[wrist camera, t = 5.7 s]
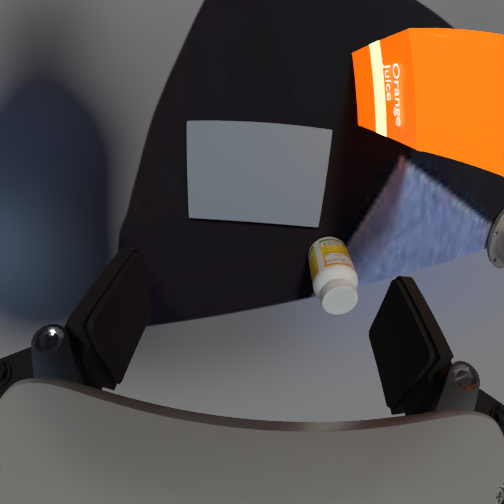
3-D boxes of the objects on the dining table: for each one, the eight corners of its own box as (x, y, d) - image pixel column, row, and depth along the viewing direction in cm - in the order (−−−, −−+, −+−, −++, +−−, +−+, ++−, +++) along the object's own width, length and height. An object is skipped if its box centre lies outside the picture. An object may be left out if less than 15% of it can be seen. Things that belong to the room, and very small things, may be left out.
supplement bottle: (331, 227, 35) (348, 272, 26) (353, 254, 36) (373, 301, 28) (299, 252, 37) (305, 300, 29) (322, 276, 39) (333, 326, 30)
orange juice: (411, 59, 22) (539, 54, 5) (415, 128, 27) (538, 184, 10) (350, 52, 23) (453, 10, 6) (356, 125, 28) (461, 177, 11)
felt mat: (331, 129, 28) (332, 130, 28) (317, 225, 35) (318, 227, 34) (188, 120, 29) (186, 121, 28) (190, 215, 35) (189, 217, 34)
